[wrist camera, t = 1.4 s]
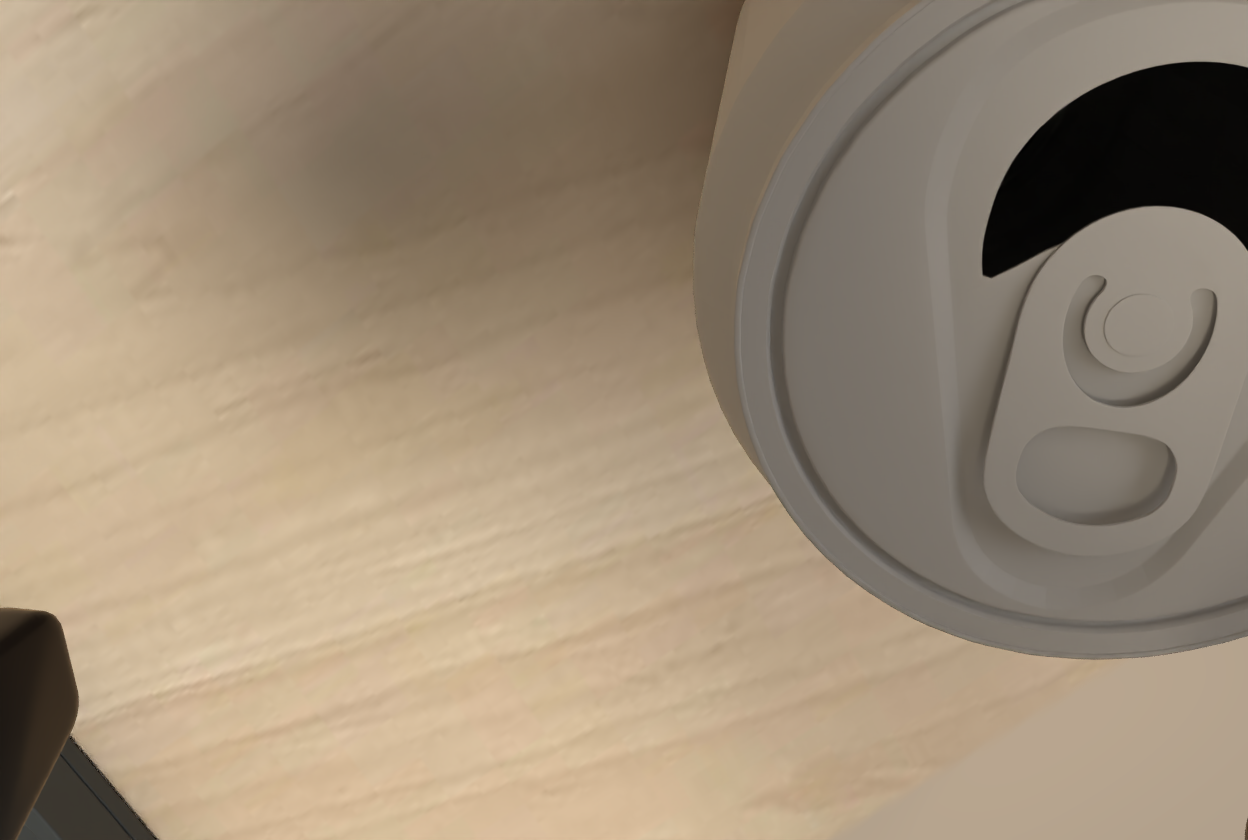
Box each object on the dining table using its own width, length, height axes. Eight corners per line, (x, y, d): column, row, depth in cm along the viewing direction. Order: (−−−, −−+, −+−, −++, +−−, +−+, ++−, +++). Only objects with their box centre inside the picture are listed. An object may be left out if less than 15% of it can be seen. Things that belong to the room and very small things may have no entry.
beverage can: (1183, -130, 17) (1926, -126, 6) (1066, 274, 20) (1424, 761, 9) (761, -173, 17) (749, -241, 6) (708, 230, 20) (638, 643, 9)
